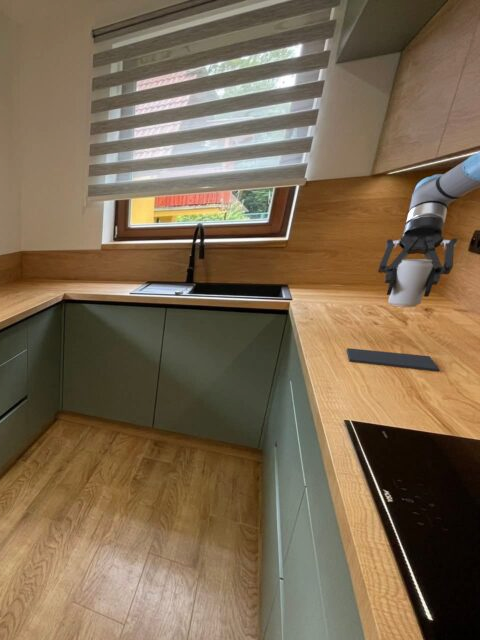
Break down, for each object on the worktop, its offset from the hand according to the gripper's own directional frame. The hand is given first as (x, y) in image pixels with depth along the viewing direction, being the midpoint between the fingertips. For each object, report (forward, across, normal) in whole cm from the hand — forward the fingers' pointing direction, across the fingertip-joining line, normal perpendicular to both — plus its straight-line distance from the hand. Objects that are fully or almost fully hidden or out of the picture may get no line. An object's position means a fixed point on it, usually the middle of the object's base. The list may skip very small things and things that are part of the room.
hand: (408, 292), depth 112 cm
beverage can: (0, 0, -6) cm, 6 cm away
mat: (+20, 0, -2) cm, 20 cm away
